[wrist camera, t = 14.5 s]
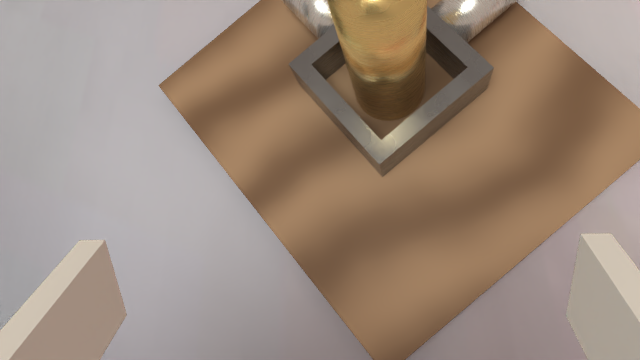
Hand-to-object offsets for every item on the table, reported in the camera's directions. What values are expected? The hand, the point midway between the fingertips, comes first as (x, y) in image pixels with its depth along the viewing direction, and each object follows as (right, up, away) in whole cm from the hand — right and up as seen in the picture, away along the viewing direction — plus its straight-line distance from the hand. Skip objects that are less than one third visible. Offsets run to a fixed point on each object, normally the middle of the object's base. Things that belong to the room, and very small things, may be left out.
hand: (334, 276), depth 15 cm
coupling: (+4, +9, +19) cm, 21 cm away
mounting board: (+4, +7, +19) cm, 21 cm away
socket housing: (+4, +12, +19) cm, 23 cm away
